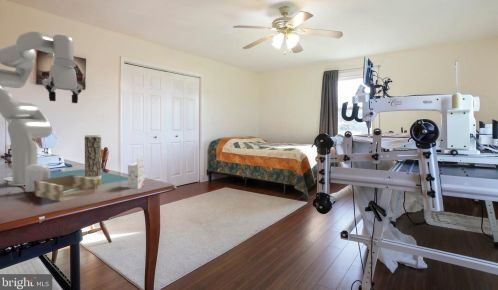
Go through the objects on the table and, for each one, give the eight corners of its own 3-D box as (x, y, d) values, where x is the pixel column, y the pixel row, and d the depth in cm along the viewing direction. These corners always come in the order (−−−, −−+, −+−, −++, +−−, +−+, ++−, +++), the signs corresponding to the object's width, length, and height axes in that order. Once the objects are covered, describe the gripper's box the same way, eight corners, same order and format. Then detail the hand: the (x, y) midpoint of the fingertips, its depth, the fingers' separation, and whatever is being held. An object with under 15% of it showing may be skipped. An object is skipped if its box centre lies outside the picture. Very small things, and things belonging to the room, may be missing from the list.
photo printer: (52, 191, 116) (52, 164, 115) (43, 194, 111) (43, 165, 110) (33, 190, 117) (32, 162, 116) (23, 192, 113) (22, 164, 112)
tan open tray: (34, 198, 106) (34, 181, 105) (73, 189, 120) (72, 174, 119) (60, 204, 99) (59, 186, 99) (97, 194, 114) (97, 179, 113)
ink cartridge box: (135, 185, 133) (135, 156, 132) (144, 185, 133) (145, 157, 132) (127, 189, 125) (127, 158, 124) (137, 189, 125) (137, 159, 124)
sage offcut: (58, 201, 104) (54, 200, 104) (79, 195, 113) (76, 194, 114) (57, 193, 103) (54, 193, 104) (79, 188, 113) (76, 187, 113)
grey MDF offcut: (60, 198, 103) (60, 194, 103) (83, 192, 113) (83, 188, 113) (65, 199, 102) (65, 195, 102) (88, 193, 112) (88, 189, 112)
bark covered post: (93, 189, 122) (93, 136, 120) (81, 188, 124) (81, 135, 122) (104, 186, 129) (104, 135, 127) (92, 184, 130) (92, 135, 128)
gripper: (77, 68, 128) (77, 103, 129) (36, 59, 112) (37, 100, 113) (87, 67, 125) (87, 103, 126) (47, 59, 109) (48, 100, 110)
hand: (64, 102), depth 120 cm, fingers open, 9 cm apart
